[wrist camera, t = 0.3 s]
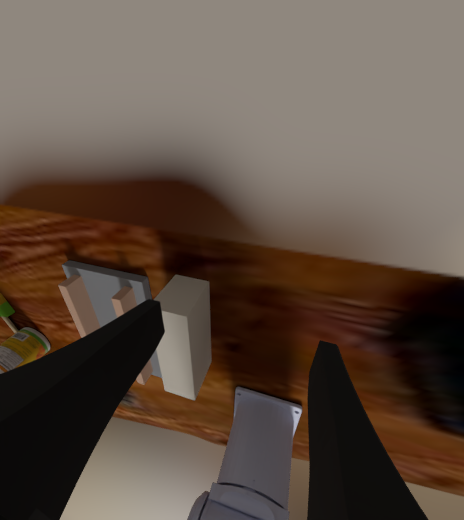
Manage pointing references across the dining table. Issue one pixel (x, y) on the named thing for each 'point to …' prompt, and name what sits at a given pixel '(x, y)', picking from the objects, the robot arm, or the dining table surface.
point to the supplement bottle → (22, 349)
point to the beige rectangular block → (185, 335)
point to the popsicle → (6, 312)
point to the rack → (104, 300)
